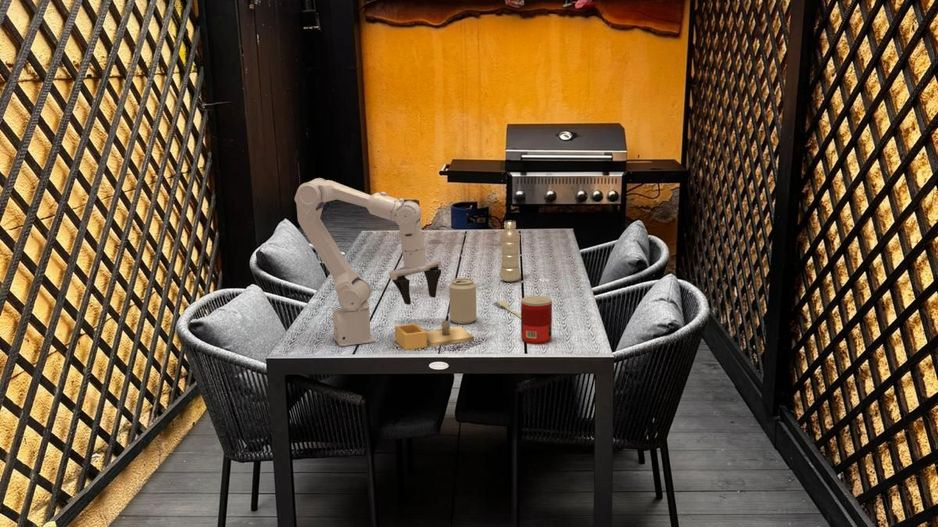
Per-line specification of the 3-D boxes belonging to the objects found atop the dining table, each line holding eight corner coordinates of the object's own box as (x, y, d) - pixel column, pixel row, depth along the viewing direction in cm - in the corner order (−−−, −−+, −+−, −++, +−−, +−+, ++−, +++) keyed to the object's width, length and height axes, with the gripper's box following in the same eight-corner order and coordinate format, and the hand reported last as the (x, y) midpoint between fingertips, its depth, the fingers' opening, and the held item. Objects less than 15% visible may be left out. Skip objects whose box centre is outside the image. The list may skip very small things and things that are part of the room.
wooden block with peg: (431, 346, 227) (430, 330, 226) (418, 335, 236) (418, 319, 235) (474, 340, 231) (473, 324, 230) (459, 330, 240) (459, 314, 239)
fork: (523, 330, 248) (523, 320, 248) (489, 304, 266) (489, 296, 265) (532, 328, 250) (532, 319, 249) (497, 303, 267) (498, 294, 266)
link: (405, 350, 225) (405, 335, 224) (395, 340, 232) (394, 326, 231) (426, 346, 227) (426, 332, 226) (416, 337, 234) (415, 323, 233)
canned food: (556, 342, 229) (556, 301, 226) (527, 345, 226) (527, 304, 224) (545, 334, 236) (545, 294, 233) (517, 337, 234) (517, 297, 231)
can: (461, 315, 254) (460, 275, 251) (481, 320, 249) (481, 279, 246) (444, 321, 248) (443, 280, 245) (464, 326, 244) (464, 284, 241)
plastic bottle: (498, 279, 294) (498, 220, 290) (518, 278, 295) (518, 219, 290) (501, 284, 288) (500, 223, 284) (521, 283, 289) (521, 223, 284)
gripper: (396, 256, 218) (403, 309, 221) (445, 244, 225) (452, 295, 228) (382, 254, 224) (390, 305, 226) (431, 242, 231) (437, 292, 234)
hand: (420, 300), depth 228 cm, fingers open, 7 cm apart
